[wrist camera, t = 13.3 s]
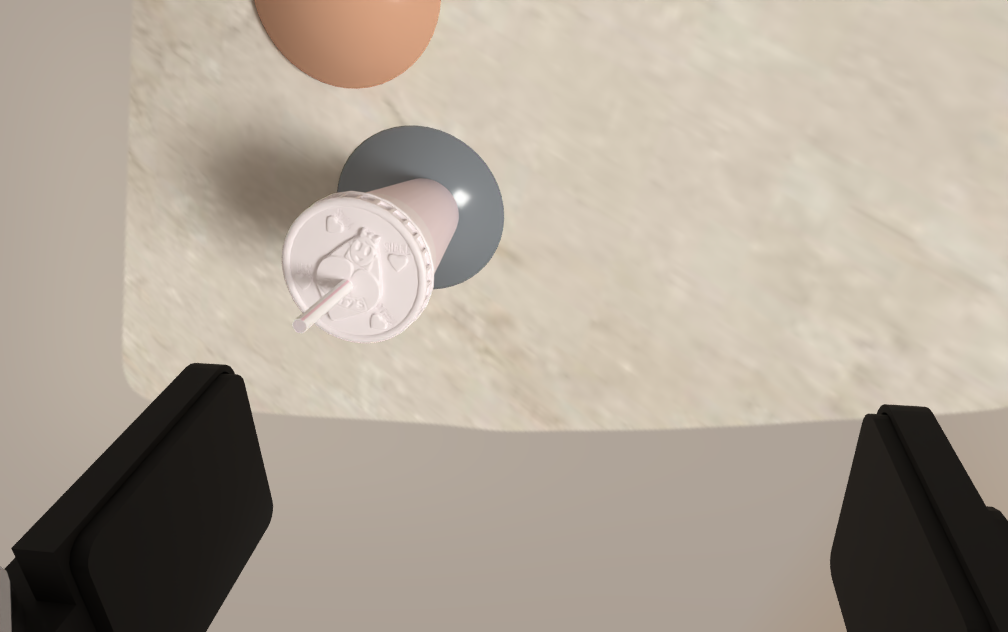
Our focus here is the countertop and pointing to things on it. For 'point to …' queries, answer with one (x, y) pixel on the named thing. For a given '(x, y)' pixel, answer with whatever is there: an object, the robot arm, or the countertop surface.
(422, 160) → the grey pebble
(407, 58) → the orange brown disc
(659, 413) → the countertop surface
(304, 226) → the smoothie
